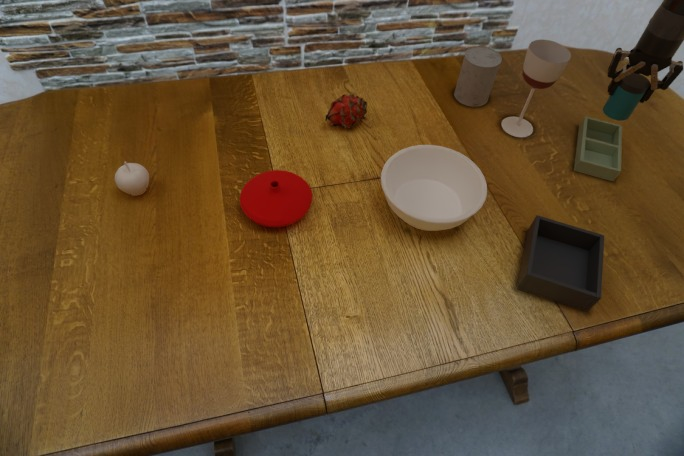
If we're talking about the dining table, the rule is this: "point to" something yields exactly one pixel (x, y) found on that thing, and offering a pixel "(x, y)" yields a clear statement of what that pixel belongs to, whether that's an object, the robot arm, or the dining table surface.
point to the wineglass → (538, 78)
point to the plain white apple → (132, 178)
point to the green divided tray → (599, 149)
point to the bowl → (433, 187)
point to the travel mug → (626, 97)
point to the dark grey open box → (562, 263)
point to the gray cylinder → (477, 76)
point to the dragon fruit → (347, 111)
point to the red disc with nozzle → (276, 198)
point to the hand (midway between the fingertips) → (625, 96)
